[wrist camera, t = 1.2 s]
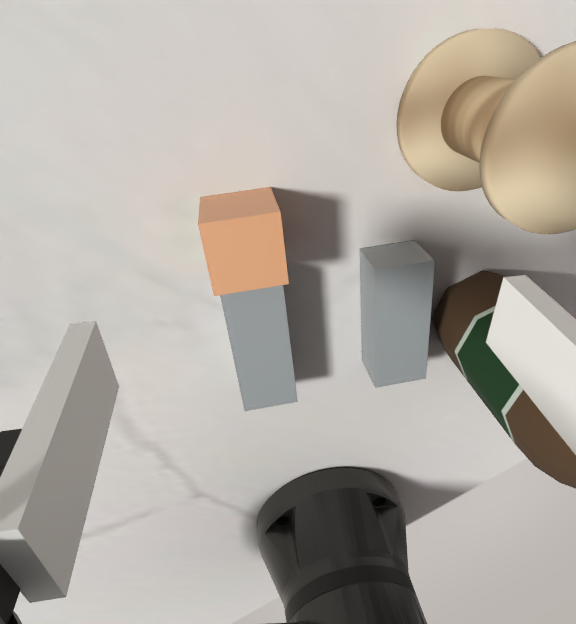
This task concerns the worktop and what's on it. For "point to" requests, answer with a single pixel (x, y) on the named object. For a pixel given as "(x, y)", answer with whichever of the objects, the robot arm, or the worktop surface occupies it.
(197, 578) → the worktop surface
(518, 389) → the beer bottle
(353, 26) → the worktop surface
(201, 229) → the block
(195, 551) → the worktop surface
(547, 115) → the bobbin
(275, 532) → the robot arm
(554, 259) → the worktop surface
